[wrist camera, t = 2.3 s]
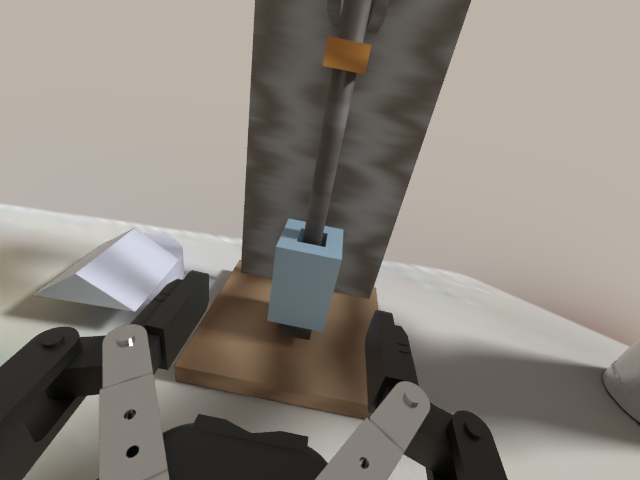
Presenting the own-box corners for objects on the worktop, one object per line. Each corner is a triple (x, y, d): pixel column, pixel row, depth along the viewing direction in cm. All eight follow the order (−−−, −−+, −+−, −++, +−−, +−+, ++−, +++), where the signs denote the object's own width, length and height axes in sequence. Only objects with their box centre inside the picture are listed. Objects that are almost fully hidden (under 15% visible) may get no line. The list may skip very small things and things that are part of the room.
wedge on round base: (139, 337, 28) (195, 261, 39) (129, 282, 25) (194, 217, 36) (43, 322, 28) (127, 250, 39) (19, 264, 24) (119, 204, 36)
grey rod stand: (371, 299, 39) (495, -56, 22) (382, 422, 25) (748, -293, 8) (239, 272, 39) (257, -105, 22) (176, 380, 25) (88, -431, 8)
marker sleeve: (327, 295, 31) (343, 229, 27) (323, 332, 27) (341, 259, 23) (279, 285, 31) (288, 218, 27) (267, 320, 27) (275, 246, 23)
